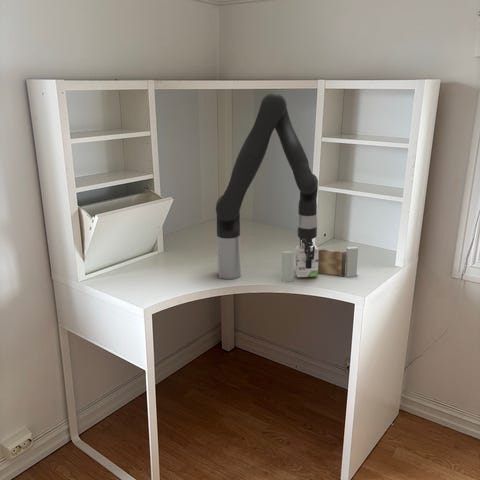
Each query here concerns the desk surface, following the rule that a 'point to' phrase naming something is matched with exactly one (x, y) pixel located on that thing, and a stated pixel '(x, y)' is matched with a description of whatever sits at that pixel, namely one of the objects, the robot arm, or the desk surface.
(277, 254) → the desk surface
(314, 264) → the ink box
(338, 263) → the brown patterned panel
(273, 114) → the robot arm
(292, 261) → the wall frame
